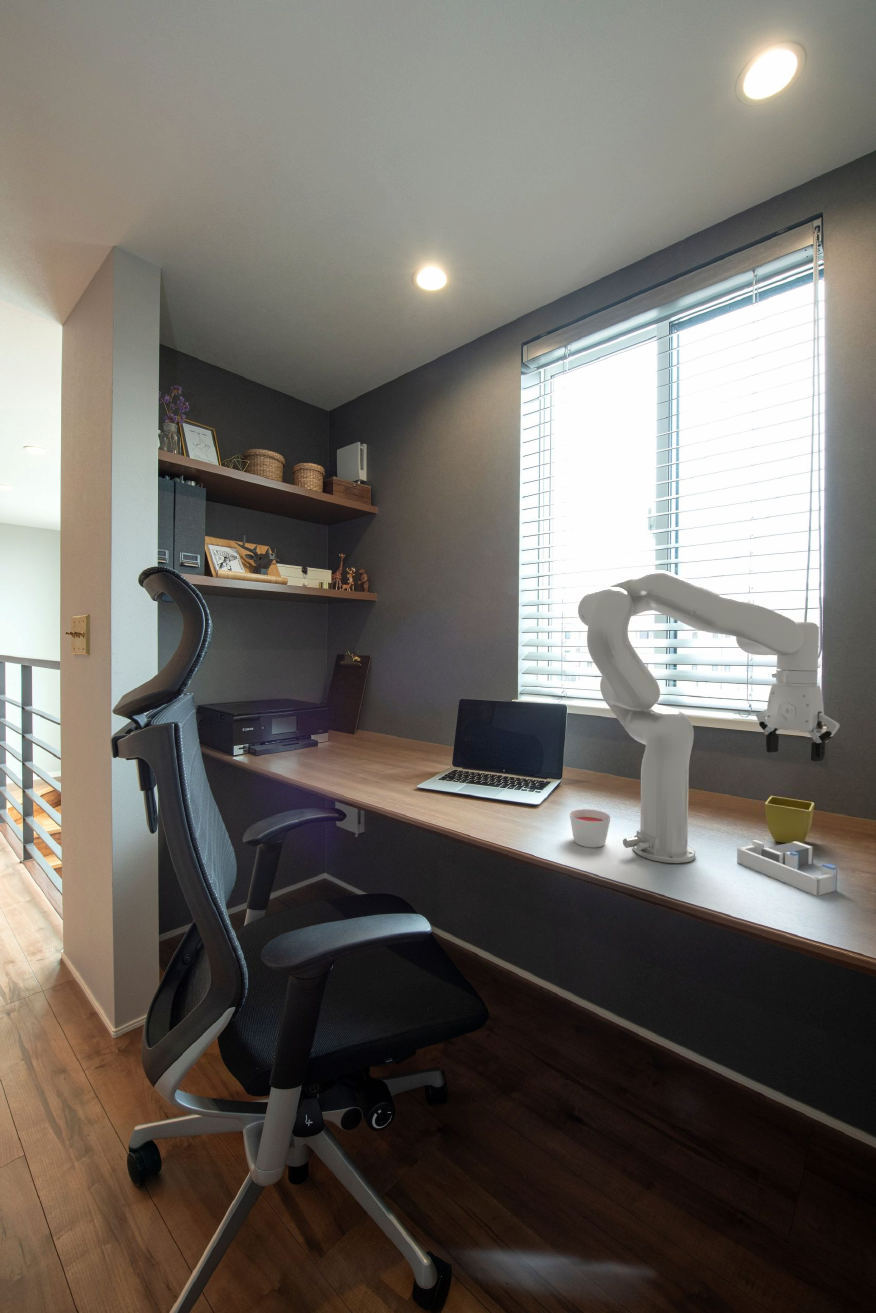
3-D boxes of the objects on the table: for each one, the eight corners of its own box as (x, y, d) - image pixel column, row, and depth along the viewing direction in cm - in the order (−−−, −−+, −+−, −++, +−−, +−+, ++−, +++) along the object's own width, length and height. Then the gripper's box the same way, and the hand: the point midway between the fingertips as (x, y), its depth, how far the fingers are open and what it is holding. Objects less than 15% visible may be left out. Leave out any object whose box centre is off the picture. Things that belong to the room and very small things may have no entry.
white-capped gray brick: (777, 871, 109) (777, 854, 109) (760, 865, 112) (761, 848, 112) (813, 863, 113) (813, 846, 113) (796, 857, 116) (796, 840, 116)
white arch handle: (816, 895, 98) (816, 871, 98) (736, 862, 113) (737, 841, 113) (836, 890, 101) (837, 866, 101) (756, 858, 115) (756, 837, 115)
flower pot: (770, 831, 132) (770, 794, 131) (813, 840, 126) (814, 801, 126) (763, 842, 125) (764, 803, 125) (809, 851, 119) (810, 810, 119)
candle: (615, 840, 125) (615, 813, 125) (603, 853, 118) (603, 824, 118) (577, 832, 131) (577, 806, 130) (563, 844, 123) (563, 816, 123)
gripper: (748, 676, 126) (745, 750, 126) (828, 681, 110) (825, 766, 110) (769, 675, 129) (766, 747, 129) (850, 681, 113) (847, 763, 114)
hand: (793, 756), depth 120 cm, fingers open, 9 cm apart
